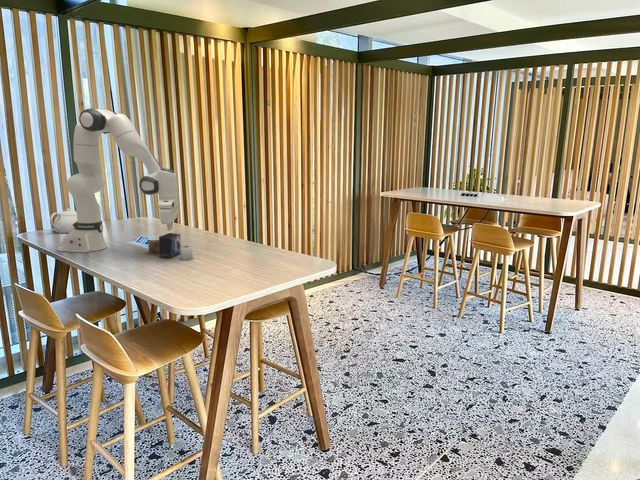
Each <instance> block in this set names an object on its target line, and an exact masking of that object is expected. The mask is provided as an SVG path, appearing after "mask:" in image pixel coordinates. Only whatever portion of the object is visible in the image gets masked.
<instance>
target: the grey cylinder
mask: <svg viewBox="0 0 640 480" xmlns="http://www.w3.org/2000/svg"><path fill="white" fill-rule="evenodd" d="M179 256H180V260H181V261H190V260H193V246H192V245H183V246H182V245H181V247H180V254H179Z"/></svg>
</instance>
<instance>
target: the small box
mask: <svg viewBox="0 0 640 480" xmlns="http://www.w3.org/2000/svg"><path fill="white" fill-rule="evenodd" d="M158 240H159V254H158V255H159V258H163V259H173V258H174V257H176V256H180V247H181V246H182V244H181V243H182V242H181V233H173V232H169V233H166V234H164V235H161V236H158Z"/></svg>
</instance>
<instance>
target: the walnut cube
mask: <svg viewBox="0 0 640 480" xmlns="http://www.w3.org/2000/svg"><path fill="white" fill-rule="evenodd" d="M147 242H148V243H147V244H148V255H159V239H149V240H148V241H147Z"/></svg>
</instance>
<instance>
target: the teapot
mask: <svg viewBox="0 0 640 480" xmlns="http://www.w3.org/2000/svg"><path fill="white" fill-rule="evenodd" d="M55 215H57V216H56V217H55V219H54V216H55ZM53 219H54V220H53ZM76 222H77V213H76V210H72V208H66V210H63V211H61V212H60V213H59V212H53V213H52V214H51V215H50V217H49V223H50V225H51V226H52V227H53V230H54V232H56V233H58V234H59V233H60V234H68V233H70V232H71V231H72V230H74V226H73V225H72V224H74V223H76Z"/></svg>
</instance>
